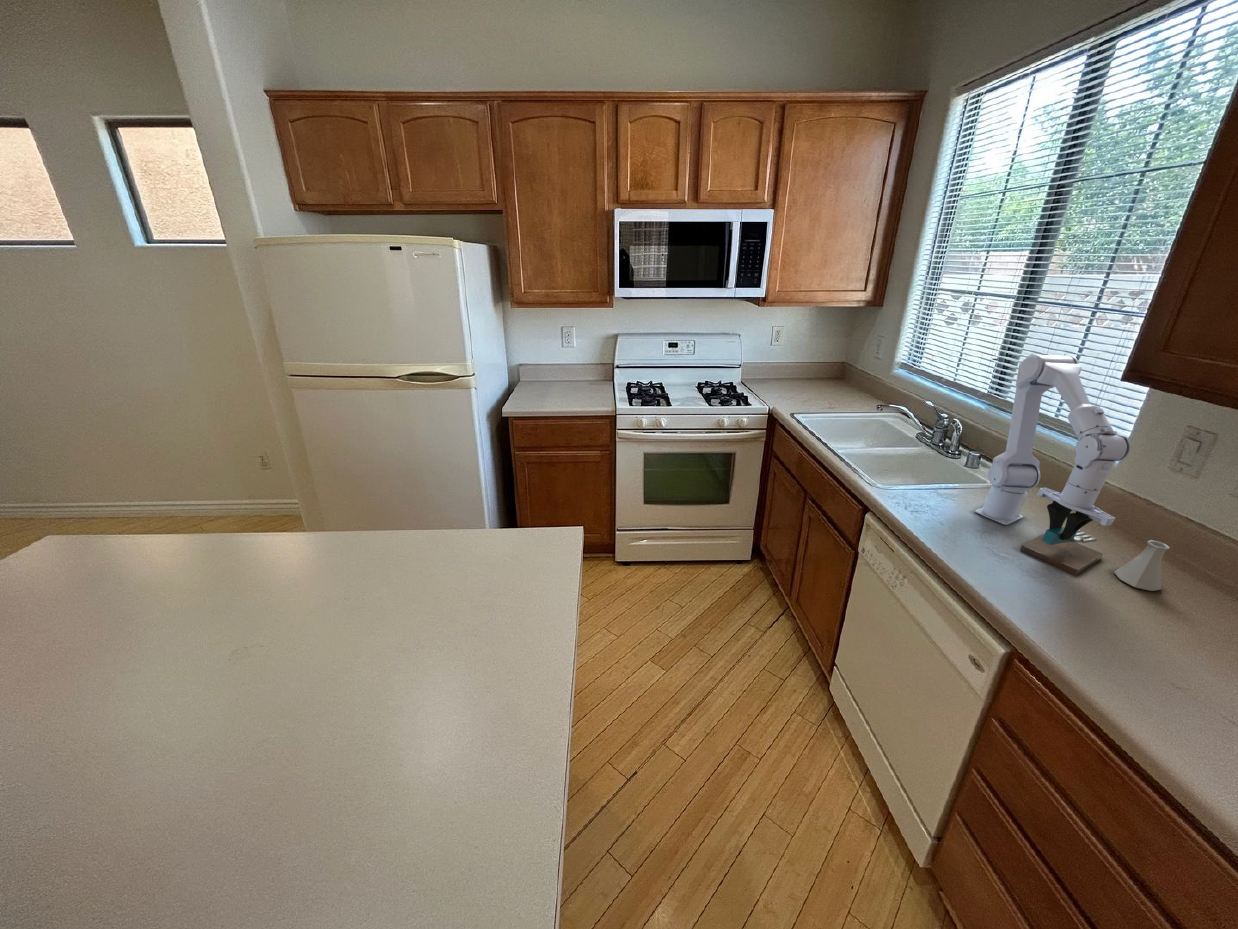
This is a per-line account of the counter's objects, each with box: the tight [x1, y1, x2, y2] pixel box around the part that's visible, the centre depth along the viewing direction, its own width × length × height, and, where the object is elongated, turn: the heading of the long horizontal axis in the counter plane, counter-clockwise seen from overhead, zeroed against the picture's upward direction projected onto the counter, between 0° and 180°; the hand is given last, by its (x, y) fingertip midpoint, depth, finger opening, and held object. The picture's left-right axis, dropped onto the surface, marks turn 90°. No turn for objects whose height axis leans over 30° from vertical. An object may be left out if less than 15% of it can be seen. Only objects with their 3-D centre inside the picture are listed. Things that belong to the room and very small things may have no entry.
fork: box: [1042, 526, 1098, 545], centre depth 113 cm, size 13×4×3 cm, turn 104°
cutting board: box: [1019, 533, 1104, 576], centre depth 115 cm, size 14×11×2 cm
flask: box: [1113, 539, 1171, 592], centre depth 104 cm, size 7×7×10 cm
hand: (1058, 536), depth 112 cm, fingers closed on fork, 2 cm apart
